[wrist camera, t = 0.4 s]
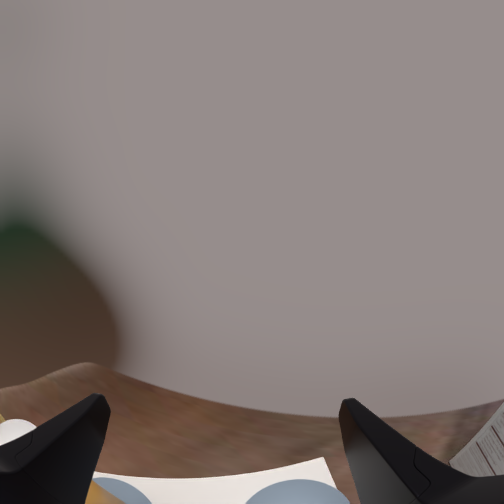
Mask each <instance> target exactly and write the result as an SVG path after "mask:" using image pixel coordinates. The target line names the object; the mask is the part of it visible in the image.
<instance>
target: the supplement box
mask: <svg viewBox="0 0 504 504" xmlns="http://www.w3.org/2000/svg"><path fill="white" fill-rule="evenodd" d="M449 463H450V465H451V467H452V468H454V469H456V470H458V471H460V472H463V473H465V474H467V475H470V476H475V477H484V476H495V475H503V474H504V402H503V404H502V405H501V406H500V408H499V409H498V410H497V411H496V412H495V414H494V415H493V416H492V417H491V418H490V420H489V421H488V422H487V423H486V424H485V425H484V426H483V428H482V429H481V430H480V431H479V432H478V433H477V434H476V435H475V436H474V437H473V438H472V440H471V441H470V442H469V443H468V444H467V445H466V446H465V447H464V448H463V449H462V450H461V451H460V452H459V453H458V454H457V455H455V456H454V457H453V458H452V459H451V460H450V461H449Z"/></svg>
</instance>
